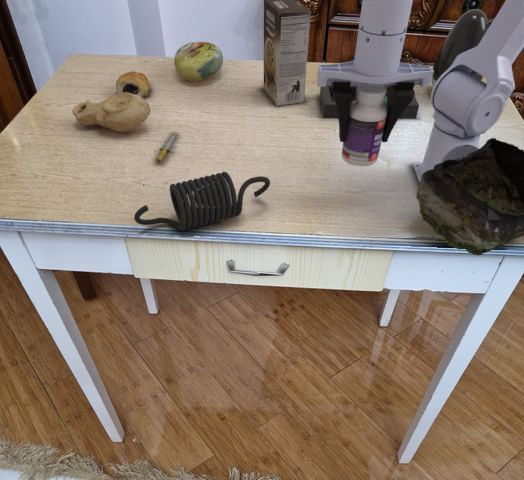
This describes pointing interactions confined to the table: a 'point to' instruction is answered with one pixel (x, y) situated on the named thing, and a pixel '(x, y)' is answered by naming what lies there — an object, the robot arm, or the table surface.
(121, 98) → the oil lamp
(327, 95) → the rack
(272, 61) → the coffee box
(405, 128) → the table surface
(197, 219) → the coil
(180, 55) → the cell model
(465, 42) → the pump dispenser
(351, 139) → the pill bottle
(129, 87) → the pastry
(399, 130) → the table surface
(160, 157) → the dagger
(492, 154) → the rock
